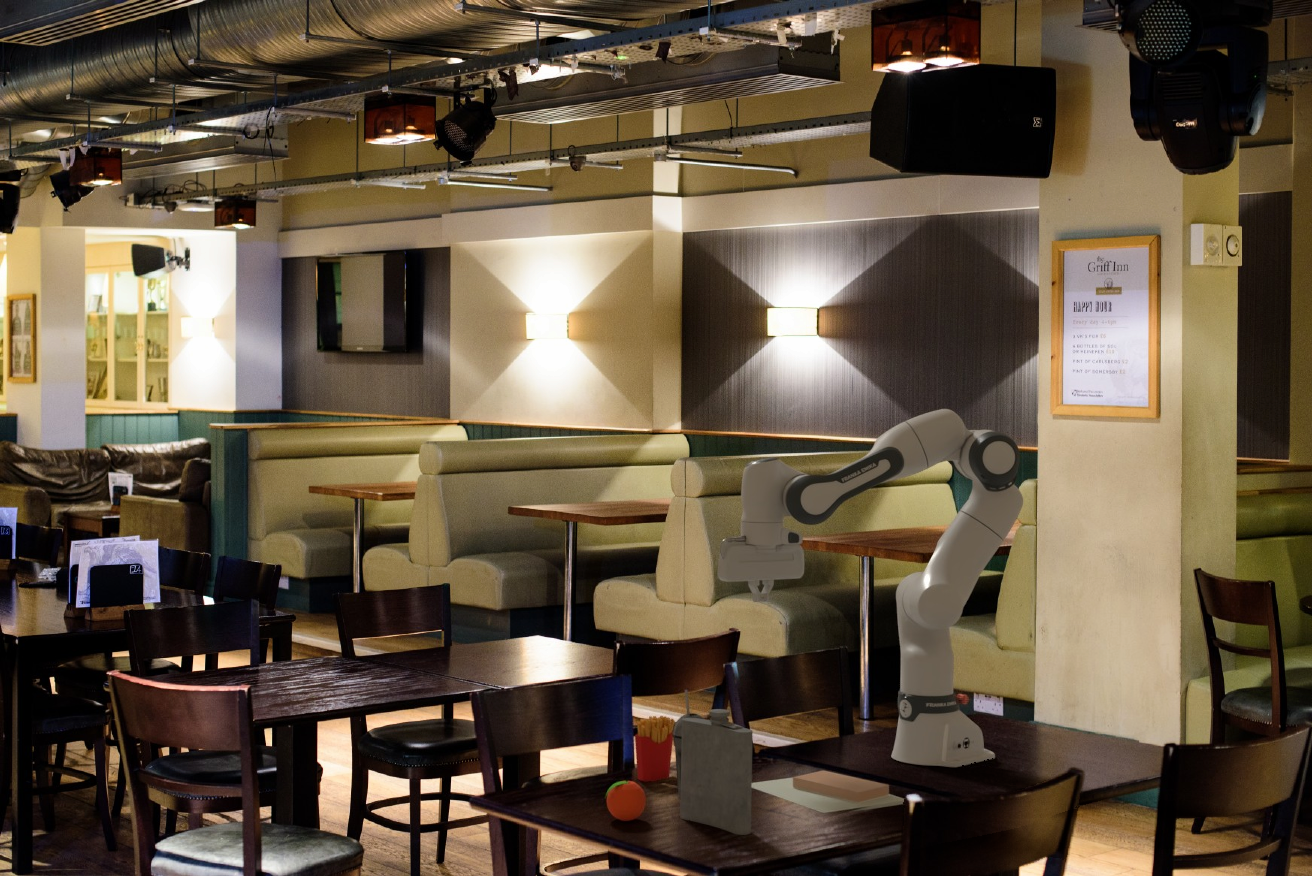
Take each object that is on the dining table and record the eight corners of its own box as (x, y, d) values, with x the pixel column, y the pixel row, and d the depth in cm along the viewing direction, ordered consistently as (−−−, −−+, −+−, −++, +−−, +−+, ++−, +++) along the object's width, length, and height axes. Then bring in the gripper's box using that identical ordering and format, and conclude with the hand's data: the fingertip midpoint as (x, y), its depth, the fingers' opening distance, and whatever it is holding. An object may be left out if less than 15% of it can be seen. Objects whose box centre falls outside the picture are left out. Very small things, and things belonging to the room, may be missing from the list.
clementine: (615, 828, 264) (616, 786, 264) (593, 819, 270) (594, 779, 270) (653, 821, 269) (654, 781, 269) (630, 813, 275) (631, 773, 275)
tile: (792, 777, 294) (859, 792, 282) (823, 770, 300) (889, 784, 289) (792, 787, 294) (858, 803, 282) (823, 780, 300) (888, 795, 289)
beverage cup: (706, 802, 284) (708, 694, 283) (667, 799, 285) (669, 692, 285) (712, 793, 291) (714, 687, 291) (675, 790, 292) (676, 686, 292)
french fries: (642, 782, 298) (643, 721, 298) (631, 778, 302) (632, 717, 302) (677, 777, 303) (678, 716, 303) (665, 773, 307) (666, 713, 306)
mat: (824, 776, 307) (824, 773, 307) (908, 803, 285) (908, 799, 285) (742, 787, 296) (742, 784, 296) (823, 816, 275) (823, 812, 275)
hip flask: (676, 817, 272) (678, 704, 272) (693, 813, 275) (694, 702, 275) (741, 835, 261) (743, 718, 261) (758, 831, 264) (760, 715, 264)
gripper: (729, 537, 312) (728, 605, 312) (809, 535, 323) (808, 601, 323) (711, 535, 318) (710, 602, 318) (791, 533, 328) (790, 597, 329)
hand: (760, 601), depth 320 cm, fingers closed
